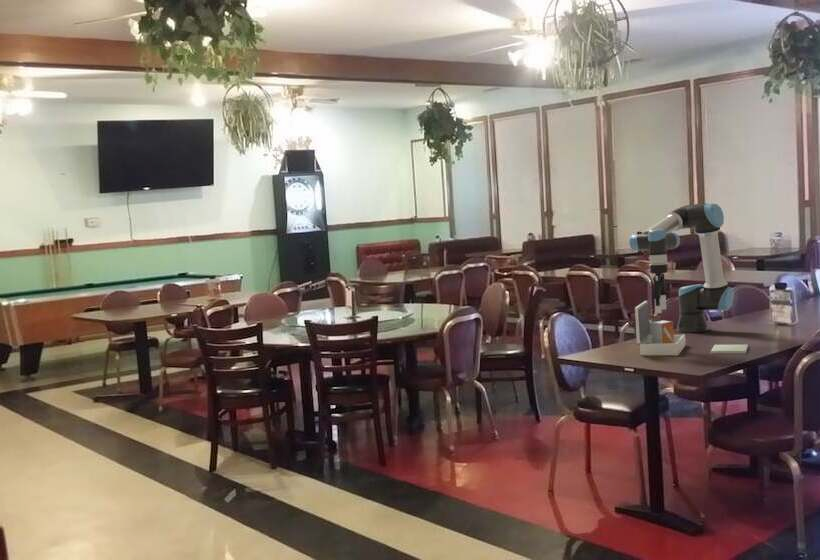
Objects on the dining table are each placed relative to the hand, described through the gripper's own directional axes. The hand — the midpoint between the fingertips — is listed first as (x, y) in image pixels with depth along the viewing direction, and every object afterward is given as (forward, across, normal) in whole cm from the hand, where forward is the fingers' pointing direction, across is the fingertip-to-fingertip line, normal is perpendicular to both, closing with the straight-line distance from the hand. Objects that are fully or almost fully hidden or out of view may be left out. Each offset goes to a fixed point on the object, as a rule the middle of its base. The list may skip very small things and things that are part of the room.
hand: (660, 311), depth 371 cm
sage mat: (+18, 0, +28) cm, 33 cm away
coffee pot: (+18, -24, -6) cm, 30 cm away
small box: (+18, 0, 0) cm, 18 cm away
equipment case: (+18, 0, 0) cm, 18 cm away
